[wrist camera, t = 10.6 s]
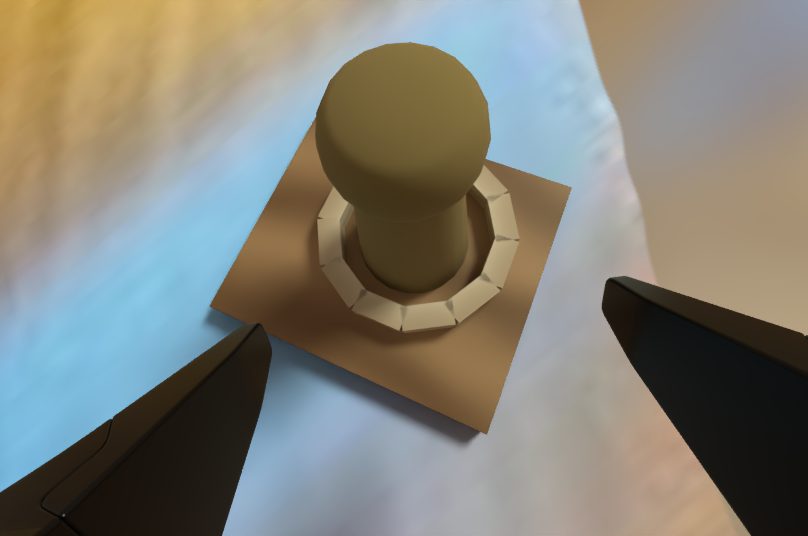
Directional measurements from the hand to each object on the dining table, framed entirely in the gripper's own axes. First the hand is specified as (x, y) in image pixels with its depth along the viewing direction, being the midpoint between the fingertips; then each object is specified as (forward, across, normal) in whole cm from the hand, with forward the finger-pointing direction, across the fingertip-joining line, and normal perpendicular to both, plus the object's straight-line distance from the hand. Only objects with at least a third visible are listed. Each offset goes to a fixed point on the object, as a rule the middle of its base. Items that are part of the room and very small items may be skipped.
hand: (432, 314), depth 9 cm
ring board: (+11, +1, +3) cm, 12 cm away
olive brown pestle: (+11, 0, +3) cm, 11 cm away
